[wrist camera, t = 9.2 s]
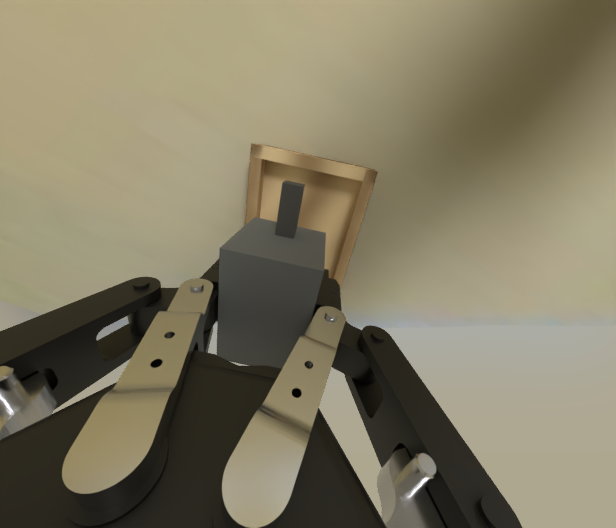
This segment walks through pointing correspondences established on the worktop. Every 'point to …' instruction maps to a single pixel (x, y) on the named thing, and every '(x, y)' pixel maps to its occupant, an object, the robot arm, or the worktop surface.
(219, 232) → the worktop surface
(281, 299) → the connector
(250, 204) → the tray
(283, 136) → the worktop surface
